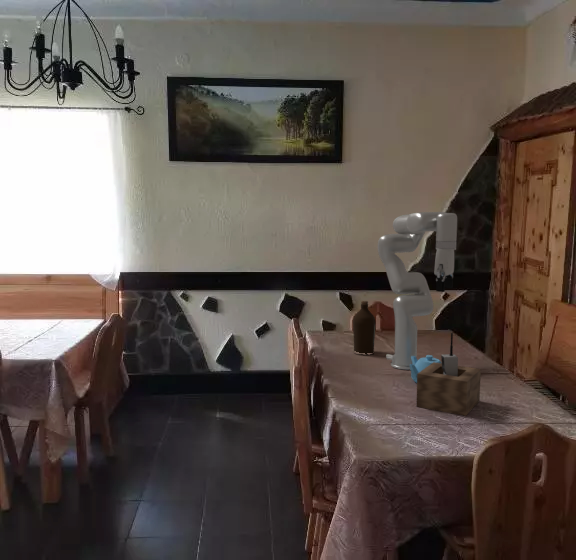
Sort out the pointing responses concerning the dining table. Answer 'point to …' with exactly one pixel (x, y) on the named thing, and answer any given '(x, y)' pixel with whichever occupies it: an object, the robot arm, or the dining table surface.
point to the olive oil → (364, 330)
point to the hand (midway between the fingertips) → (444, 289)
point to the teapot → (421, 365)
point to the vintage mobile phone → (450, 362)
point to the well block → (448, 389)
